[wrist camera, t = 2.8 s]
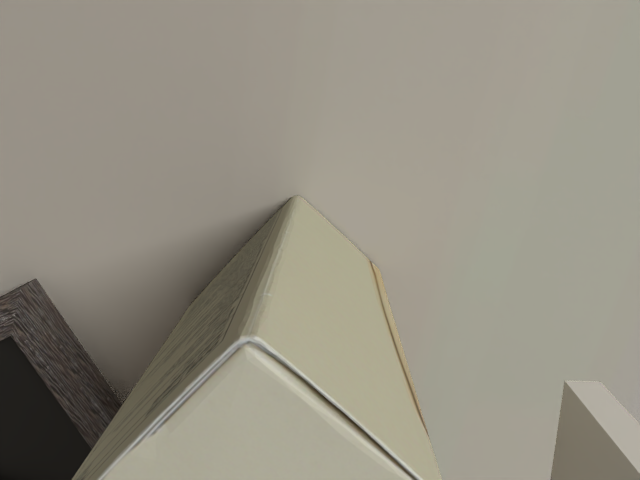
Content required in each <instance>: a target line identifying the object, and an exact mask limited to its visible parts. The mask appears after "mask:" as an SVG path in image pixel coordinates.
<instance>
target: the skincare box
mask: <svg viewBox="0 0 640 480" xmlns="http://www.w3.org/2000/svg"><path fill="white" fill-rule="evenodd" d="M72 480H442V478H441V474H440V471H439V468H438V465H437V461H436V458H435V455H434V452H433V449H432V446H431V443H430V439H429V436H428V432H427V429H426V425H425V422H424V419H423V416H422V412H421V409H420V405H419V401H418V398H417V395H416V391H415V388H414V384H413V381H412V378H411V375H410V371H409V368H408V365H407V362H406V358H405V355H404V351H403V348H402V345H401V342H400V338H399V335H398V331H397V328H396V325H395V321H394V318H393V315H392V311H391V308H390V304H389V301H388V298H387V294H386V291H385V287H384V284H383V280H382V277H381V274H380V271H379V269H378V268H377V267H376V266H375V265H374V264H373V263H372V262H371V261H370V260H369V259H368V258H367V257H366V256H365V255H364V254H363V253H362V252H361V251H360V250H358V249H357V248H356V247H355V246H354V245H353V244H352V243H351V242H350V241H349V240H348V239H347V238H346V237H345V236H344V235H343V234H342V233H340V232H339V231H338V230H337V229H336V228H335V227H334V226H333V225H332V224H331V223H330V222H329V221H328V220H326V219H325V218H324V217H323V216H322V215H321V214H320V213H319V212H318V211H317V210H315V209H314V208H313V207H312V206H311V205H310V204H309V203H308V202H306V201H305V200H304V199H303V198H302V197H300V196H298V195H297V196H293V197H292V198H291V199H290V200H289V201H288V202H287V203H286V204H285V205H284V206H283V207H282V208H281V209H280V210H279V211H278V212H277V213H276V214H275V215H274V216H273V217H272V218H271V219H270V220H269V221H268V222H267V223H266V224H265V225H264V226H263V227H262V228H261V229H260V230H259V231H258V232H257V233H256V234H255V235H254V236H253V237H252V239H251V240H250V241H249V242H248V243H247V244H246V245H245V246H244V247H243V248H242V249H241V250H240V251H239V252H238V253H237V254H236V255H235V257H234V258H233V259H232V260H231V261H230V262H229V263H228V264H227V265H226V266H225V267H224V268H223V269H222V270H221V272H220V273H219V274H218V275H217V276H216V277H215V278H214V279H213V280H212V281H211V282H210V284H209V285H208V286H207V287H206V288H205V289H204V290H203V291H202V293H201V294H200V295H199V296H198V297H197V298H196V299H195V300H194V302H193V303H192V304H191V305H190V306H189V307H188V309H187V310H186V312H185V313H184V315H183V317H182V318H181V320H180V321H179V322H178V324H177V325H176V327H175V328H174V330H173V331H172V333H171V334H170V336H169V337H168V339H167V340H166V342H165V343H164V344H163V346H162V347H161V349H160V350H159V352H158V353H157V355H156V356H155V358H154V359H153V360H152V362H151V363H150V365H149V366H148V368H147V369H146V371H145V372H144V374H143V375H142V377H141V379H140V380H139V382H138V383H137V384H136V386H135V387H134V389H133V390H132V392H131V393H130V395H129V396H128V398H127V399H126V401H125V402H124V403H123V405H122V406H121V408H120V409H119V411H118V412H117V414H116V415H115V417H114V418H113V420H112V421H111V423H110V424H109V426H108V427H107V429H106V430H105V431H104V433H103V434H102V436H101V437H100V439H99V440H98V442H97V443H96V445H95V446H94V448H93V449H92V450H91V452H90V453H89V455H88V456H87V458H86V459H85V461H84V462H83V464H82V465H81V467H80V468H79V469H78V471H77V472H76V474H75V475H74V477H73V478H72Z"/></svg>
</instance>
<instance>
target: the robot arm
mask: <svg viewBox="0 0 640 480" xmlns="http://www.w3.org/2000/svg"><path fill="white" fill-rule="evenodd" d="M551 480H640V424H639V423H638V422H637V421H636V420H635V419H634V417H633V416H632V415H631V414H630V413H629V412H628V411H627V410H626V409H625V408H624V407H623V406H622V405H621V403H620V402H619V401H618V400H617V399H616V398H615V397H614V396H613V395H612V394H611V393H610V392H609V391H608V389H607V388H606V387H605V386H604V385H603V384H602V383H601V382H599V381H565V382H564V389H563V396H562V403H561V410H560V417H559V424H558V431H557V438H556V445H555V452H554V459H553V466H552V473H551Z"/></svg>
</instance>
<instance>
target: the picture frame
mask: <svg viewBox="0 0 640 480" xmlns="http://www.w3.org/2000/svg"><path fill="white" fill-rule="evenodd" d="M121 406H122V404H121V403H120V401H119V400H118V398H117V397H116V395H115V394H114V392H113V391H112V389H111V388H110V386H109V385H108V384H107V382H106V381H105V379H104V378H103V376H102V375H101V373H100V372H99V370H98V369H97V367H96V366H95V364H94V363H93V361H92V360H91V359H90V357H89V356H88V354H87V353H86V351H85V350H84V348H83V347H82V345H81V344H80V342H79V341H78V339H77V338H76V336H75V335H74V334H73V332H72V331H71V329H70V328H69V326H68V325H67V323H66V322H65V320H64V319H63V317H62V316H61V314H60V313H59V312H58V310H57V309H56V307H55V306H54V304H53V303H52V301H51V300H50V298H49V297H48V295H47V294H46V292H45V291H44V289H43V288H42V287H41V285H40V284H39V282H38V281H37V279H34V280H32V281H30V282H28V283H26V284H24V285H22V286H20V287H18V288H17V289H15V290H13V291H11V292H9V293H7V294H5V295H3V296H1V297H0V480H72V478H73V477H74V475H75V474H76V472H77V471H78V469H79V468H80V467H81V465H82V464H83V462H84V461H85V459H86V458H87V456H88V455H89V453H90V452H91V450H92V449H93V448H94V446H95V445H96V443H97V442H98V440H99V439H100V437H101V436H102V434H103V433H104V431H105V430H106V429H107V427H108V426H109V424H110V423H111V421H112V420H113V418H114V417H115V415H116V414H117V412H118V411H119V409H120V408H121Z"/></svg>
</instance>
